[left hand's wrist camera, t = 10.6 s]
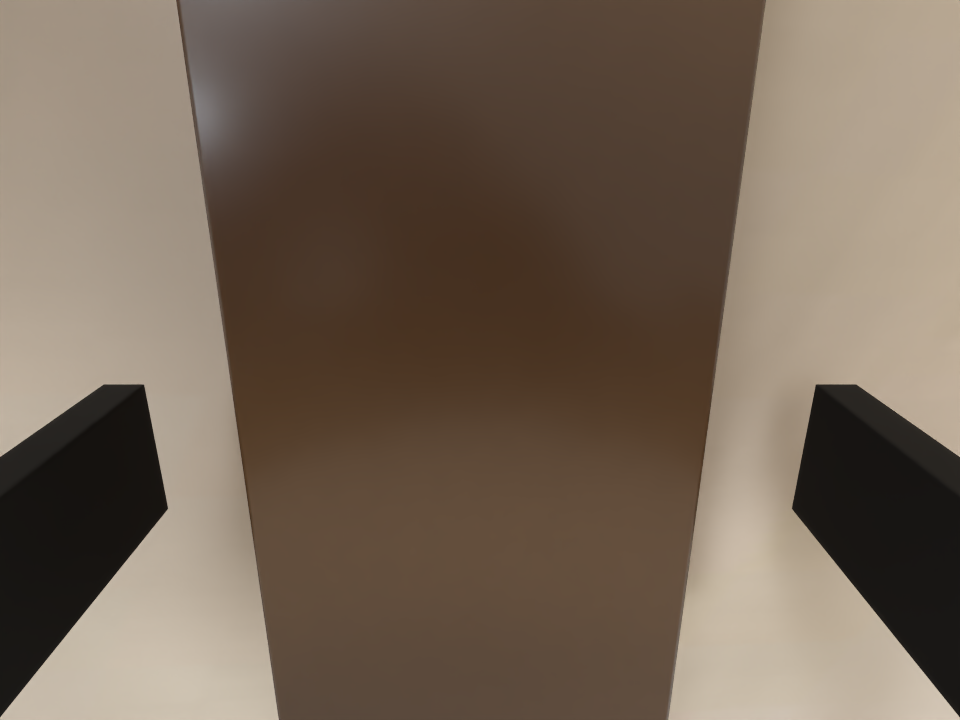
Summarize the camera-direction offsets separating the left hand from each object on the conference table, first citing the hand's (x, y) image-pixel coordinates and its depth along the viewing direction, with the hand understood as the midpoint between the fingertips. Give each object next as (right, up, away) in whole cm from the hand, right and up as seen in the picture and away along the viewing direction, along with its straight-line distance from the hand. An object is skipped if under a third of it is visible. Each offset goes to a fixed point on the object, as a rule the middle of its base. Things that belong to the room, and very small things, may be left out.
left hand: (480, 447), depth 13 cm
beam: (0, +34, -9) cm, 35 cm away
